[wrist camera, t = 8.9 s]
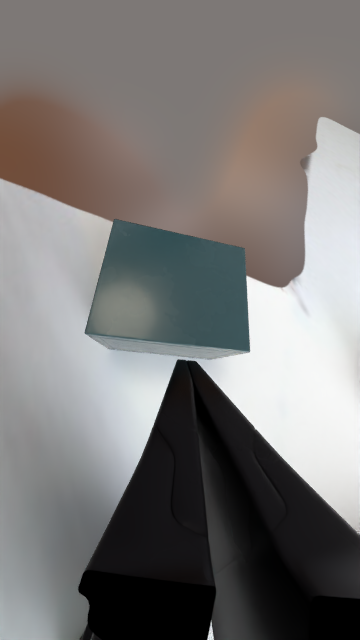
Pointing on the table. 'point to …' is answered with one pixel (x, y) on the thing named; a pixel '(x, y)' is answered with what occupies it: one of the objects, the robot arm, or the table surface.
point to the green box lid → (171, 290)
